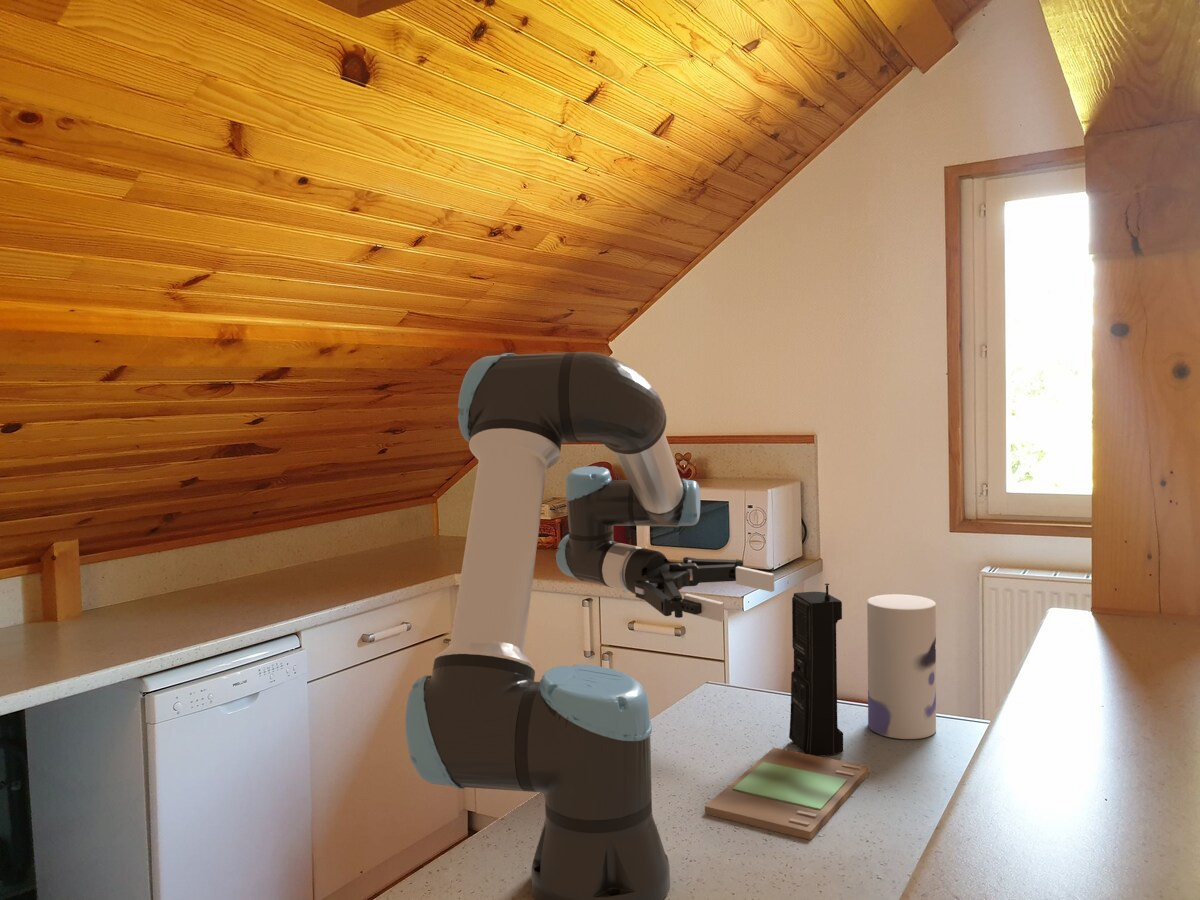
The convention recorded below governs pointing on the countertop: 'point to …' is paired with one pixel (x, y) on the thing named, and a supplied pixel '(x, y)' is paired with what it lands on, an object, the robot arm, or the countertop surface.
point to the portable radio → (815, 674)
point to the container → (901, 666)
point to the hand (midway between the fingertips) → (748, 597)
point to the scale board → (788, 792)
